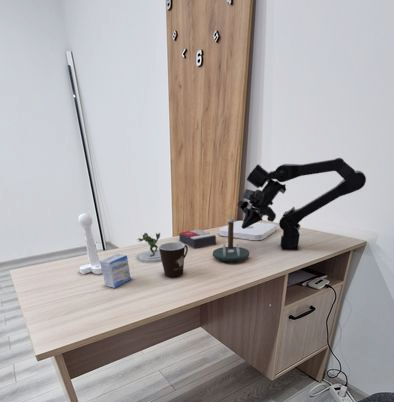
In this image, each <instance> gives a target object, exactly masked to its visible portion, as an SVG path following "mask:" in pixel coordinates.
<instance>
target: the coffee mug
mask: <svg viewBox="0 0 394 402" xmlns="http://www.w3.org/2000/svg"><path fill="white" fill-rule="evenodd" d="M158 250H160V255H161V260H162V261H161V263H162V268H163V272H164V273H163V274H164V276H165V277H166V278H168V279H177V278H181V277H183V275H184V266H185V258H186V256H187V255H188V250H189V248H188V245H186V244H185V243H182V242H176V241H171V242H164V243H161V244H160V245H159V246H158Z"/></svg>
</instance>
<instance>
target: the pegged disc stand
mask: <svg viewBox="0 0 394 402" xmlns="http://www.w3.org/2000/svg"><path fill="white" fill-rule="evenodd" d="M227 222H228V223H227V225H228V237H227V246H226V244H222V247H218V248H216V249H214V250H213V251H212V257H213V258H214V259H216V260H218V259H219V260H224V261H238V260H243V259H244V260H246V259H248V258H249V257H250V254H251V253H250V250H248V249H247V248H244V247H241V246H239V244H238V243H237V244H236V246H234V237H233V227H234V222H235V218H228V219H227ZM219 260H218V261H219ZM244 260H243V261H244Z"/></svg>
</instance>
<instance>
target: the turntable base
mask: <svg viewBox="0 0 394 402" xmlns="http://www.w3.org/2000/svg"><path fill="white" fill-rule="evenodd" d="M217 260H218V261H220V262H222V263H227V264H236V263H241V262H242V261H244V260H245V259H243V260H238V261H224V260H219V259H217Z"/></svg>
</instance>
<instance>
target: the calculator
mask: <svg viewBox="0 0 394 402" xmlns="http://www.w3.org/2000/svg"><path fill="white" fill-rule="evenodd" d="M178 236H179V237H178V238H179V241H180V242H183V243H184V244H187V245H189V246H190V247H191V248H193V249H197V248H202V247H207V246H213V245H216V244H217V236H216V234H213V233H210V232H208V231H205V230H202V229H193V230H188V231H183V232H180V233H178Z"/></svg>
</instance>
